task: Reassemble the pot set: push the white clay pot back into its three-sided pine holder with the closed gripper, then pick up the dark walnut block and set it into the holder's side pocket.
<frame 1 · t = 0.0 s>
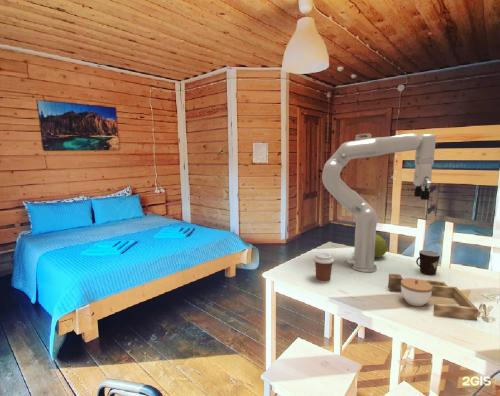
hand: (421, 197, 137), 37 cm above the table, tool pointing down, fingers open, 9 cm apart
coffee cup: (323, 280, 135), on the table
lidded jar: (414, 302, 114), on the table
fruit: (370, 256, 164), on the table
coffee mug: (424, 272, 141), on the table
walnut block: (394, 289, 125), on the table
holder: (443, 305, 111), on the table
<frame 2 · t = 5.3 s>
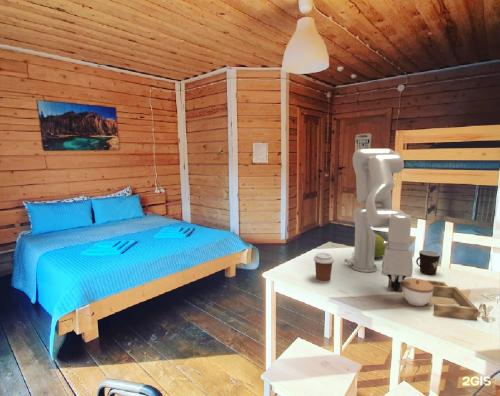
hand: (395, 289, 115), 4 cm above the table, tool pointing down, fingers closed
lidded jar: (415, 302, 114), on the table, touching gripper
everything else where it was.
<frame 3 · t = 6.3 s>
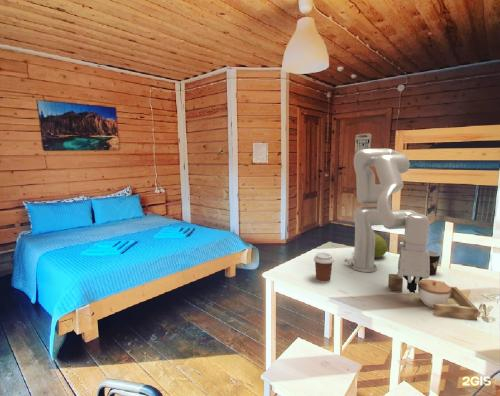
hand: (411, 291, 113), 5 cm above the table, tool pointing down, fingers closed
lidded jar: (432, 304, 112), on the table, touching gripper
everything else where it was.
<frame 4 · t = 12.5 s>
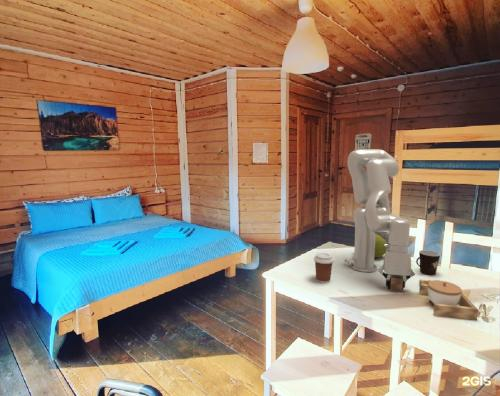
hand: (395, 288, 124), 1 cm above the table, tool pointing down, fingers closed on walnut block, 4 cm apart
lidded jar: (442, 305, 112), on the table
walnut block: (395, 289, 125), on the table, touching gripper
everything else where it was.
when the fingers open (3 cm above the table, at t = 17.8 s): walnut block drops 2 cm, resting in holder.
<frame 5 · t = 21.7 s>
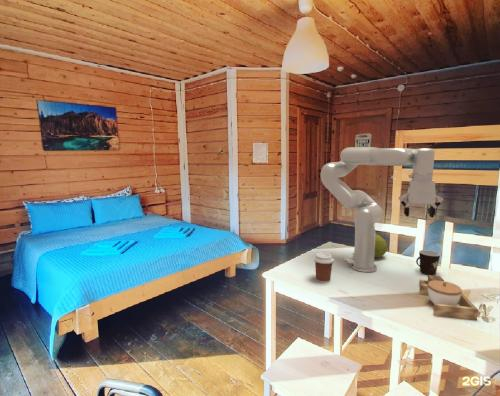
hand: (419, 216, 127), 30 cm above the table, tool pointing down, fingers open, 9 cm apart
walnut block: (434, 291, 123), resting in holder
everything else where it was.
at the end: lidded jar inside the target area on the holder (0.2 cm from its centre), point 0.0 cm above the holder's base; lidded jar tilted 0°; walnut block inside the target area on the holder (0.2 cm from its centre), point 0.0 cm above the holder's base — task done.
